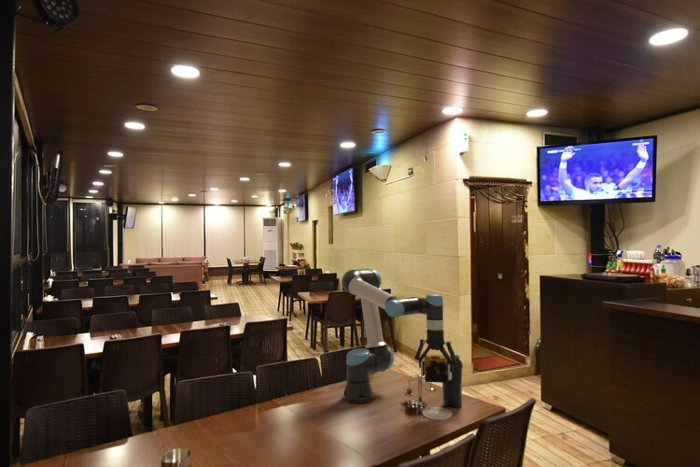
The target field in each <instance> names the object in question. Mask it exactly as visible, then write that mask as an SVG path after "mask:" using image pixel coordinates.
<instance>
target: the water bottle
mask: <svg viewBox="0 0 700 467" xmlns="http://www.w3.org/2000/svg"><path fill="white" fill-rule="evenodd" d="M449 356H450V355H449ZM455 356H456V358H457V361H458V363H456V364H454V371H453V372H452V379H451V380H448V383H441V384H442V387H441V388H442V404H443V406H444V408H447V409H460V408H462V407H463V406H462V403H463V401H462V400H463V398H462V396H463V366H464V365H463V364H464V363H463V362H462V360H460V359H461V356H460V355H458V354H455ZM450 358H451V356H450ZM451 359H452V358H451ZM448 365H449V363H448V361H447V373H448Z"/></svg>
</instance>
